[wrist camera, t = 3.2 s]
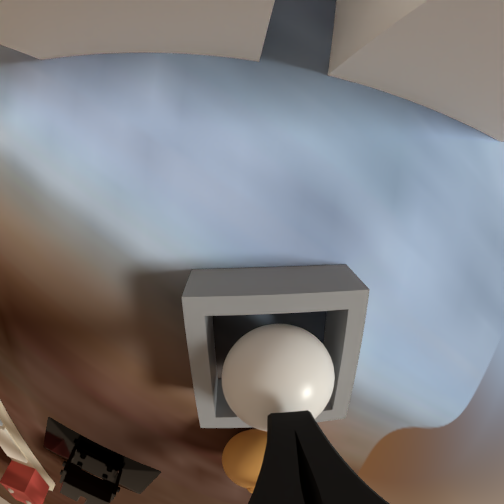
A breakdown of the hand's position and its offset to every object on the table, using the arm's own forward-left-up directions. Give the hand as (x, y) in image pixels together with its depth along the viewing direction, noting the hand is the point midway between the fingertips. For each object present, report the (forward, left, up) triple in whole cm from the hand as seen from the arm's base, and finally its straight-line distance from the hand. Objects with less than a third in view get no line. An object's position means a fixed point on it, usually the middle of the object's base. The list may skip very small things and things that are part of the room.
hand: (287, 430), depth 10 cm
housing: (0, 0, -6) cm, 6 cm away
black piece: (-13, +13, -7) cm, 20 cm away
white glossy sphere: (0, 0, -5) cm, 5 cm away
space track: (-10, +22, -6) cm, 25 cm away
